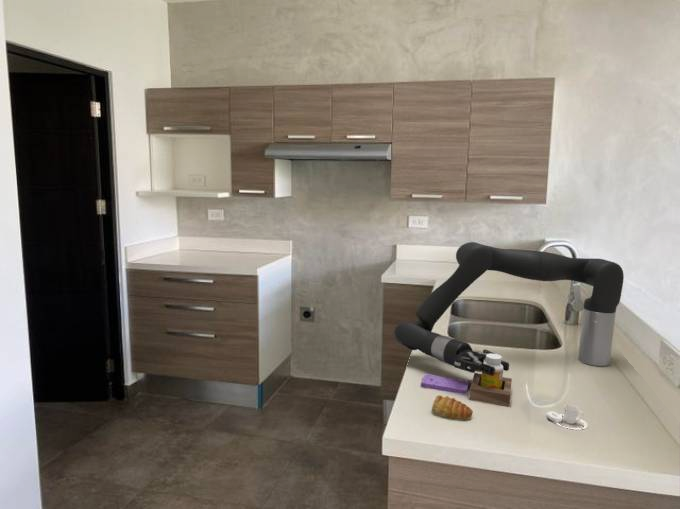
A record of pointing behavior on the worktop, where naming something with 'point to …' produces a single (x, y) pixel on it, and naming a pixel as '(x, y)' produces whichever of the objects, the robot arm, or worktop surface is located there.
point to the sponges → (445, 384)
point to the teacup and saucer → (567, 416)
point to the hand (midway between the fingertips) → (501, 369)
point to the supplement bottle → (496, 379)
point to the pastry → (451, 408)
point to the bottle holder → (490, 391)
